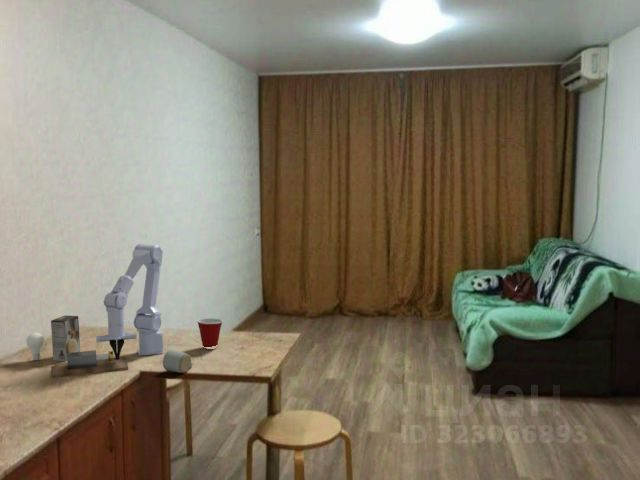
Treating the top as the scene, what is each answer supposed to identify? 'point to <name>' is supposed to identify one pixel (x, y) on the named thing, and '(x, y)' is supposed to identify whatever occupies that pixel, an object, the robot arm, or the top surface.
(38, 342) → the lightbulb
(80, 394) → the top surface
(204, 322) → the plastic cup
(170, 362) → the ceramic mug
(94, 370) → the base board
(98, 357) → the shaft
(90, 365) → the block
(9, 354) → the top surface
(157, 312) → the robot arm
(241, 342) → the top surface
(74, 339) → the coffee box
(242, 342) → the top surface
